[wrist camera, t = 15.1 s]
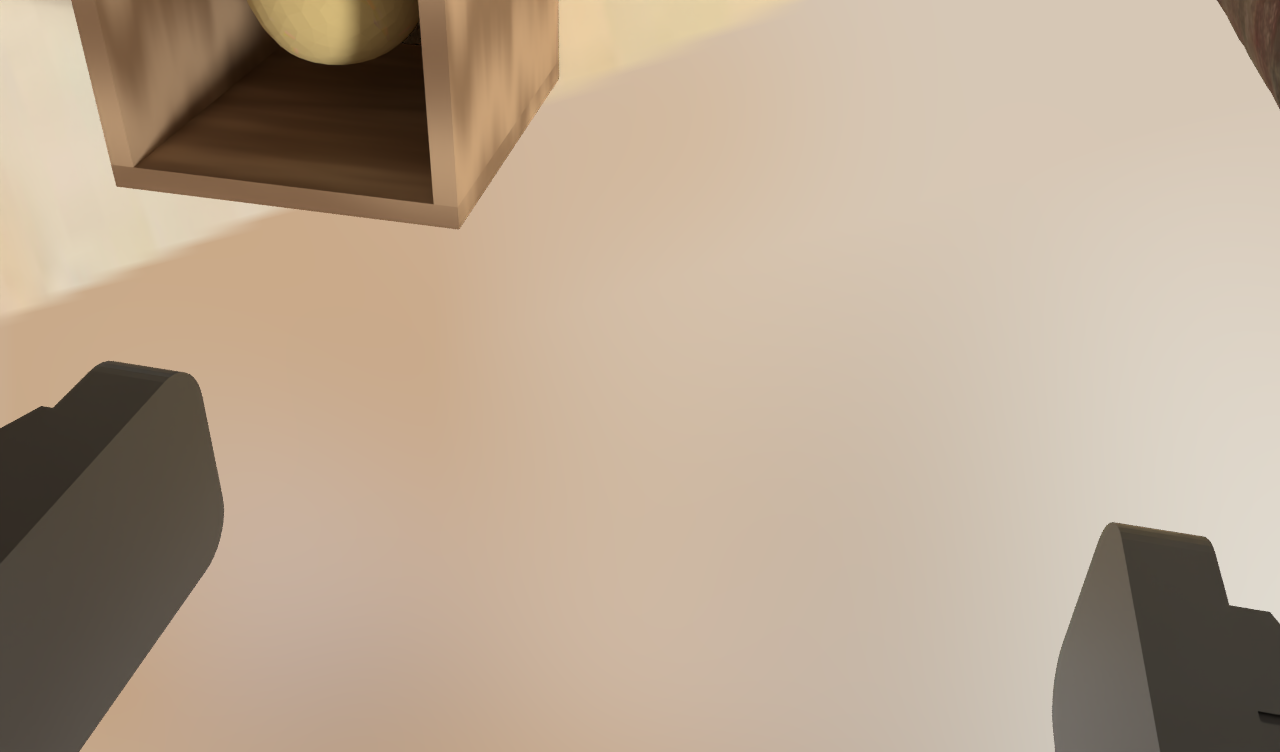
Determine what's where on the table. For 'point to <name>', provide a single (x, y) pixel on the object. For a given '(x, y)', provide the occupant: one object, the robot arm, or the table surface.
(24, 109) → the table surface
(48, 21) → the table surface
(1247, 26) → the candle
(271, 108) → the box
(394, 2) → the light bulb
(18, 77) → the table surface
